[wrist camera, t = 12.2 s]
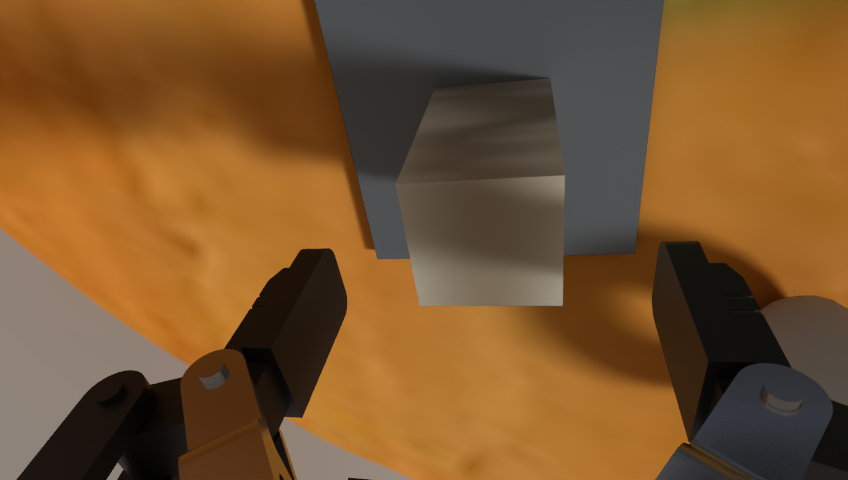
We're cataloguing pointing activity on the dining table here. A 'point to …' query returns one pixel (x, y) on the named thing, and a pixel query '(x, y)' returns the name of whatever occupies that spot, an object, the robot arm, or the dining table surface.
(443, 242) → the maple block
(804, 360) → the donut
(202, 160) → the dining table surface
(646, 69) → the rubber mat
